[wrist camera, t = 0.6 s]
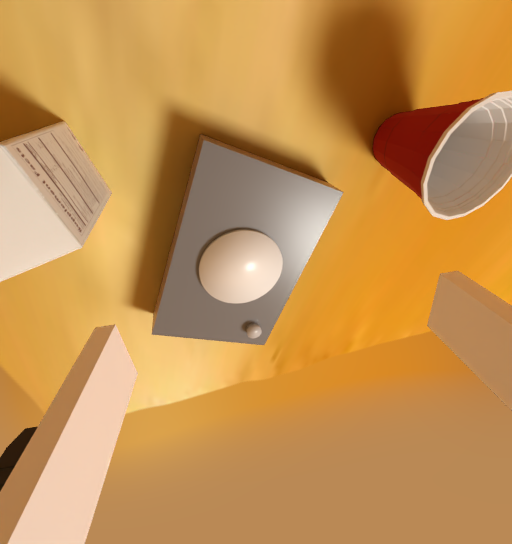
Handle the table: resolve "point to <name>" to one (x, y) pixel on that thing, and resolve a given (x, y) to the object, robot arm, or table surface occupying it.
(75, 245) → the supplement box
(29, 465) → the robot arm
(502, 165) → the plastic cup
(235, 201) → the grey base plate
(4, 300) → the table surface
